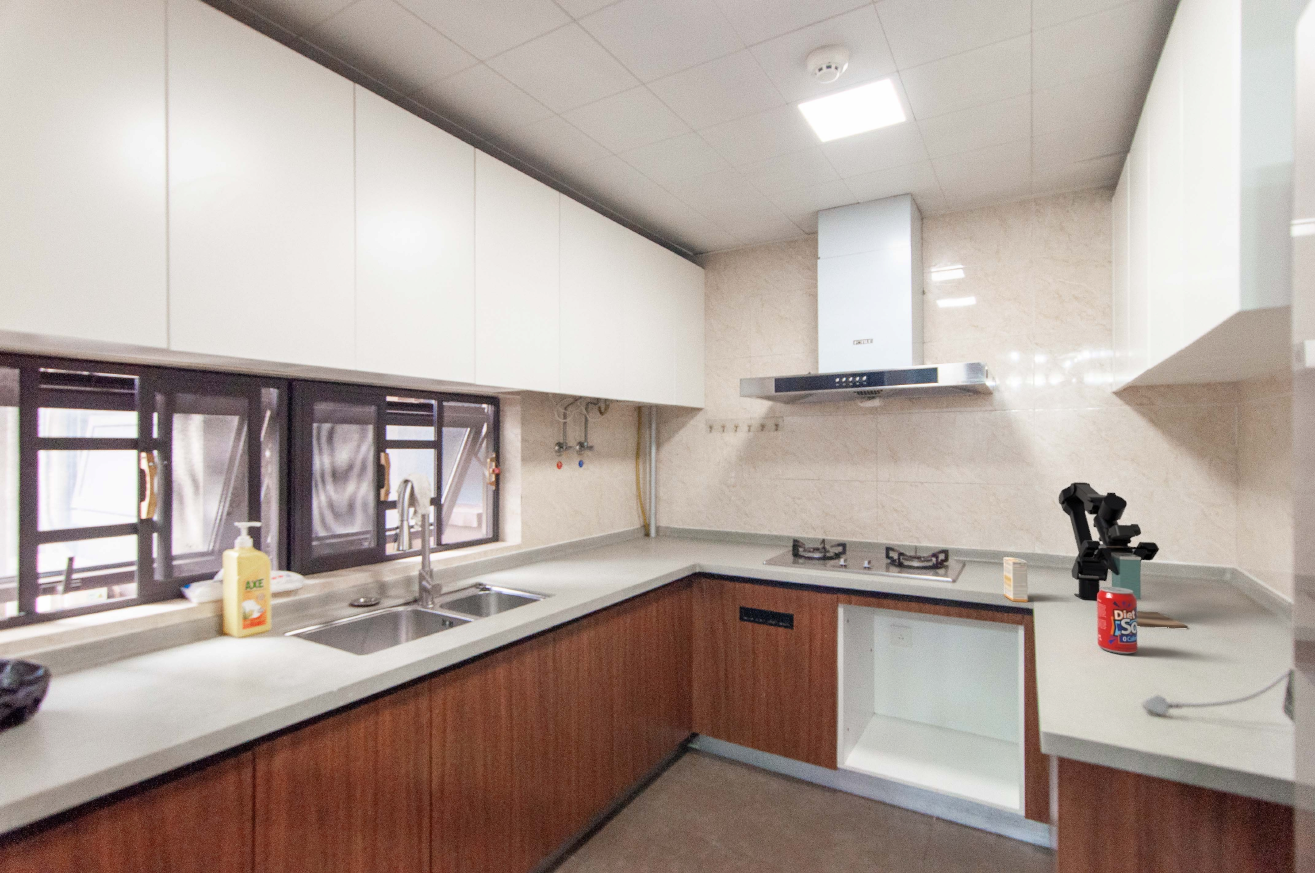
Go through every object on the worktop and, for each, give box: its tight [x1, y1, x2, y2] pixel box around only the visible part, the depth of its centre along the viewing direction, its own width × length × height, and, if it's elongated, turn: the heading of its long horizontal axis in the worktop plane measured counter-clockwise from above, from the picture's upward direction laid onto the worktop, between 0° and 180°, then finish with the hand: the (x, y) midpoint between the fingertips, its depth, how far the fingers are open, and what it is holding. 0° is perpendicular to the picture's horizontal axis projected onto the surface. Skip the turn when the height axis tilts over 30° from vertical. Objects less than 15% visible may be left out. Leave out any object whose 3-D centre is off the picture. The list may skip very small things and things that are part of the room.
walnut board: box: [1137, 610, 1188, 629], centre depth 178 cm, size 14×14×2 cm
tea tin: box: [1111, 553, 1142, 600], centre depth 178 cm, size 5×5×12 cm
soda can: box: [1096, 586, 1138, 655], centre depth 152 cm, size 8×8×15 cm
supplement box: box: [1003, 556, 1029, 603], centre depth 203 cm, size 8×5×13 cm, turn 168°
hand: (1128, 574), depth 176 cm, fingers closed on tea tin, 5 cm apart
